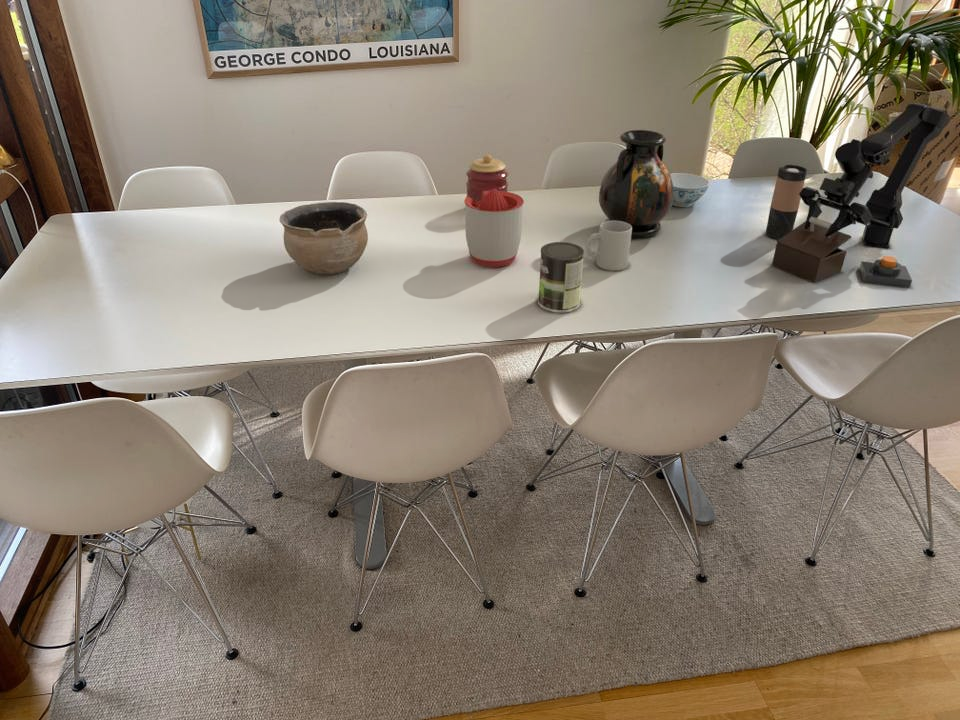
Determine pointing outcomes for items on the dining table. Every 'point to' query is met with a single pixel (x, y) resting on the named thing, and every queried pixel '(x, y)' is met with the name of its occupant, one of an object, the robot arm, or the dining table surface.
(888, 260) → the release button
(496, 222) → the citrus juicer
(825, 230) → the lid
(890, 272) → the control block
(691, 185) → the chinaware
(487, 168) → the kitchen canister
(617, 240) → the mug
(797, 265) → the brown lidded box
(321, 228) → the ceramic bowl
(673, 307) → the dining table surface
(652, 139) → the amphora vase
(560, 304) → the coffee can
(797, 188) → the travel mug
